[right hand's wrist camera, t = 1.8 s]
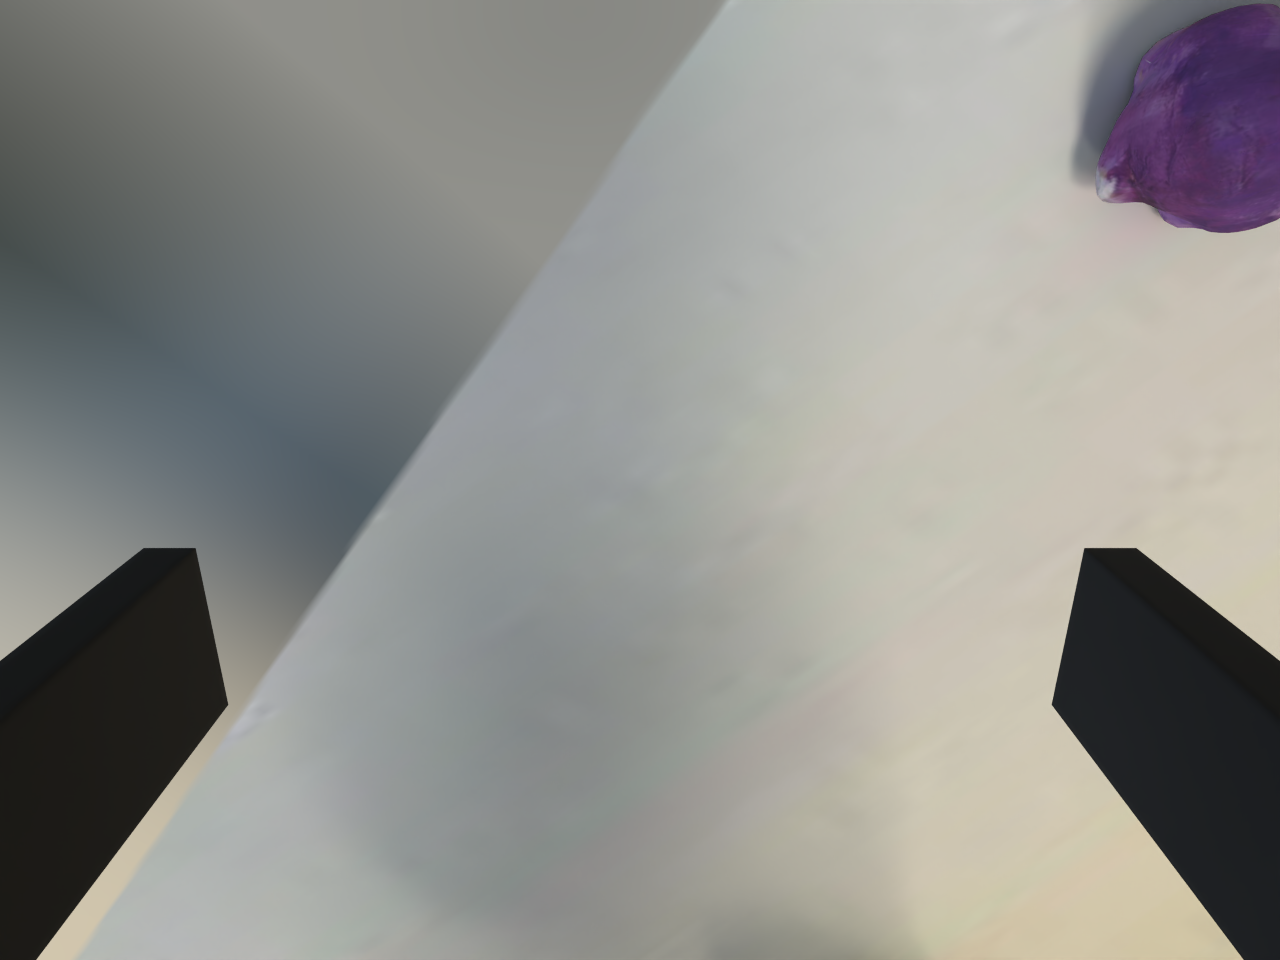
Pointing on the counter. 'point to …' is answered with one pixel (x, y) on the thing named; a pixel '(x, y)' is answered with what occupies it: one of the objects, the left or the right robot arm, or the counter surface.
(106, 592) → the right robot arm
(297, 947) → the counter surface
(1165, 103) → the figurine
